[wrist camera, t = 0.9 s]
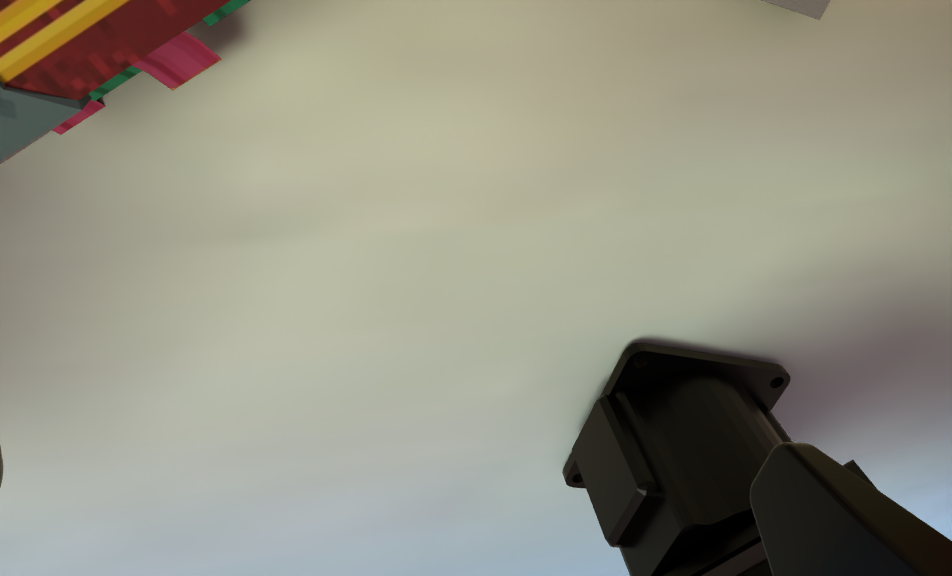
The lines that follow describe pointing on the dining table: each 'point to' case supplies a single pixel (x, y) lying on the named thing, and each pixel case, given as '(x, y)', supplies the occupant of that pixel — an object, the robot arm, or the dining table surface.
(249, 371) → the dining table surface
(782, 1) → the plate
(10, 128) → the decorative book
